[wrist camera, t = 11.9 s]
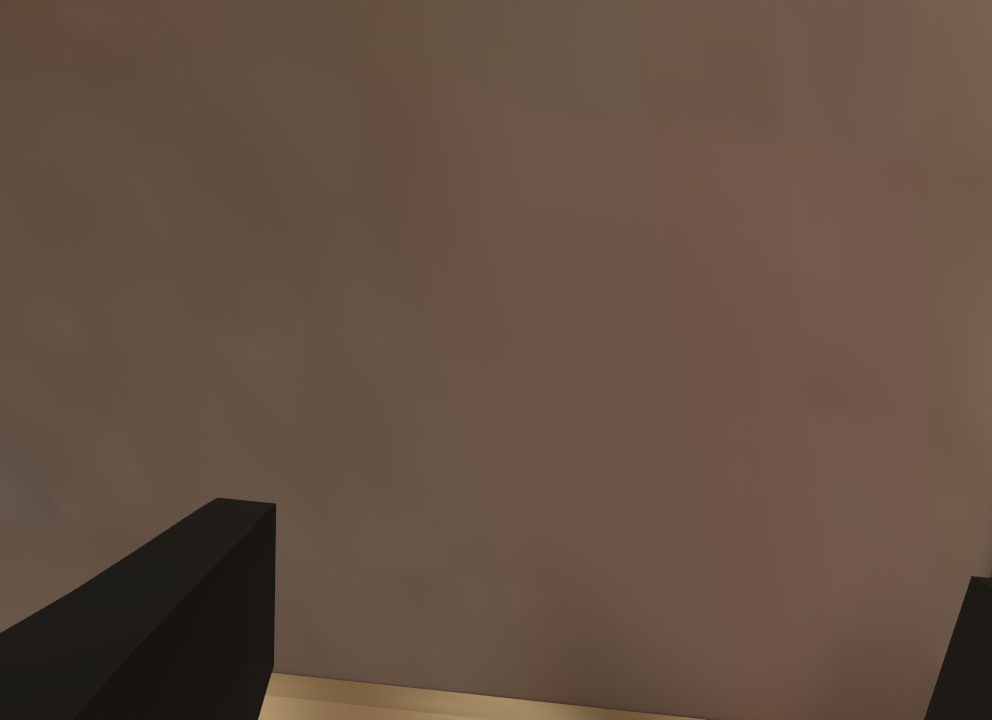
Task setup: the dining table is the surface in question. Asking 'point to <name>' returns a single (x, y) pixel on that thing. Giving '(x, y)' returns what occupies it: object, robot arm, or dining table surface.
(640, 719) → the chessboard
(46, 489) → the dining table surface
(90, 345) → the dining table surface
